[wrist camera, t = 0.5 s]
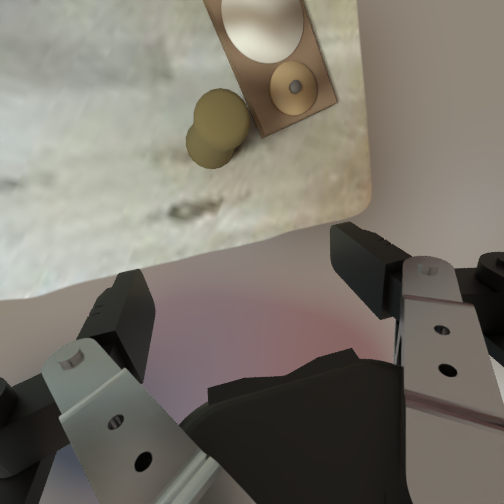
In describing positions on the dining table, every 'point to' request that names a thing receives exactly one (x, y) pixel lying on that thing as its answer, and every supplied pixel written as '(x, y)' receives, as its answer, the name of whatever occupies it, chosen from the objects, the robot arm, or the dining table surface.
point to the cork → (217, 128)
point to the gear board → (273, 59)
